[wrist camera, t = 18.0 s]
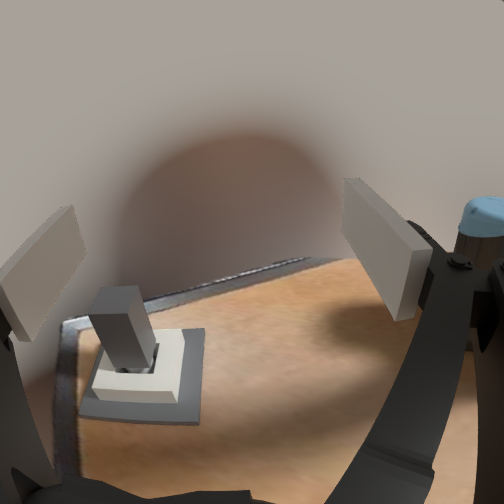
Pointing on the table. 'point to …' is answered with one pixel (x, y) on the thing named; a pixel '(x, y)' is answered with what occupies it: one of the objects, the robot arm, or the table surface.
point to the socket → (151, 384)
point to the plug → (124, 328)
